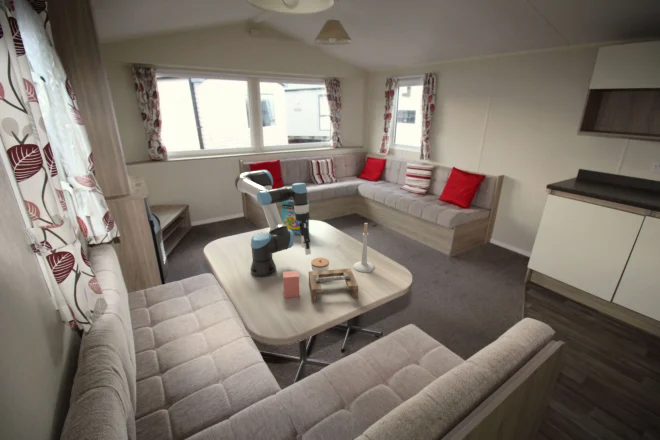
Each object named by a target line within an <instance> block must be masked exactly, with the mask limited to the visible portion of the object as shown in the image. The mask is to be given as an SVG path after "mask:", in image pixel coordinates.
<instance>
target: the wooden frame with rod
mask: <svg viewBox="0 0 660 440" xmlns="http://www.w3.org/2000/svg"><path fill="white" fill-rule="evenodd" d="M353 273H354V272H353V271H352V269H351V267H350V268H339V269H338V268H337V269H328V270H323V271H313V270H312V271H310V270H309V271H308V286H309V291H310V292H309V293H310V297H311V298H310V299H311V303H312V304H315V303H316V304H317V293H322V292H323V288H322V285H321V282H331V281H342V280H343V281H345V284H346V287H347V289H348V290H350V292H351V295H352V297H353V298H352V299H354V300H358V298H359V285H358V282H357V279H356V277H355V275H354V274H353Z"/></svg>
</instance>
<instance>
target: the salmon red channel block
mask: <svg viewBox="0 0 660 440" xmlns="http://www.w3.org/2000/svg"><path fill="white" fill-rule="evenodd" d="M282 279H283V294H284V295H283V297H284V298H292V297H293V298H294V297H300V275H299V270H289V271H283V272H282Z"/></svg>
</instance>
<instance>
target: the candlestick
mask: <svg viewBox="0 0 660 440" xmlns="http://www.w3.org/2000/svg"><path fill="white" fill-rule="evenodd" d="M368 224H369V223H368V222H364V224H363V226H364V227H363V233H362V237H363V243H362V250H361V260H360V261H357V262H355V263H354V264H353V269H354V270H355V271H356V272H360V273H370V272H373V271H374V270H373V269H375V265H374V264H373V263H371V262H370V261H368V245H367V244H368V238H367V237H368V235H369V232H368Z"/></svg>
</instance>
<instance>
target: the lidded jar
mask: <svg viewBox="0 0 660 440" xmlns="http://www.w3.org/2000/svg"><path fill="white" fill-rule="evenodd" d="M310 264H311V270H312V271H323V270H329V267H330V261H329V259H328V258H326V257H315V258H313V259H312V260H311V263H310Z"/></svg>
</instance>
